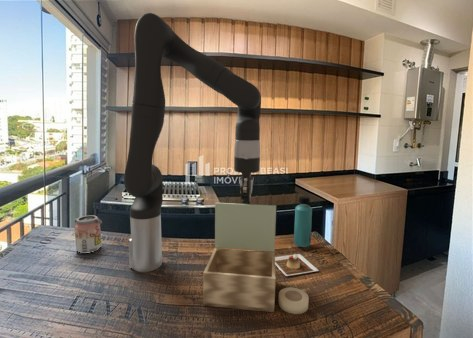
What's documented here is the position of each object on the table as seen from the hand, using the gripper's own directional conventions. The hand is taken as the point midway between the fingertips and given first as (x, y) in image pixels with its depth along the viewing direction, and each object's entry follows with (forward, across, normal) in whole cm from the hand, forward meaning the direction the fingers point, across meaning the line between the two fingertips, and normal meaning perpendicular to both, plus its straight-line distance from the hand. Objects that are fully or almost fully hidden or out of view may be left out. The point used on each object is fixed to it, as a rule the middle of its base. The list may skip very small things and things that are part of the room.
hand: (246, 211), depth 83 cm
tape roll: (+20, +14, +14) cm, 28 cm away
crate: (+20, +11, 0) cm, 22 cm away
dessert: (+21, -6, +16) cm, 27 cm away
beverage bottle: (+21, -21, +20) cm, 36 cm away
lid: (+4, +3, 0) cm, 5 cm away
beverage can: (+20, -8, -58) cm, 62 cm away
